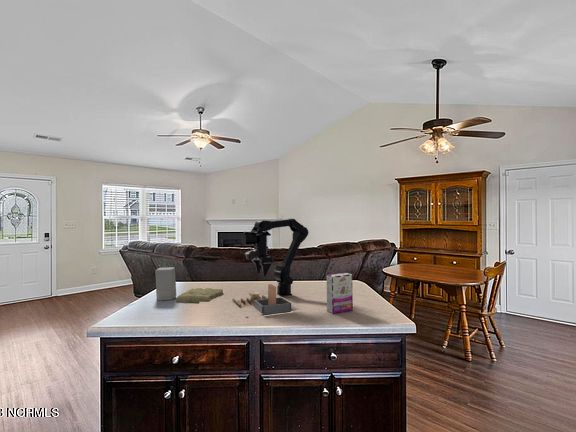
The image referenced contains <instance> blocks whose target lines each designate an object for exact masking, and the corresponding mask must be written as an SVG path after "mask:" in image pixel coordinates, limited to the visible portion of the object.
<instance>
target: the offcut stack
mask: <svg viewBox="0 0 576 432" xmlns="http://www.w3.org/2000/svg"><path fill="white" fill-rule="evenodd" d="M248 296H249V297H250V298H249V299H250V300H251V302H252V303H253V304H254V300H260V299H261V298H262V296H260V293H259V292H257V291H251V292H249V293H248Z"/></svg>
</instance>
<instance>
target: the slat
mask: <svg viewBox="0 0 576 432" xmlns="http://www.w3.org/2000/svg"><path fill="white" fill-rule="evenodd" d="M267 298H268V305H276V298H277V286H276V285H274V284H268V285H267Z"/></svg>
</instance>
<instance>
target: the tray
mask: <svg viewBox="0 0 576 432" xmlns="http://www.w3.org/2000/svg"><path fill="white" fill-rule="evenodd" d="M253 308H254V309H256V310H257V311H258V312H259V313H261V314H260V315H261V316H269V315H278V314H284V313H292V303H291V302H290V301H289V300H286V299H284V298H283V297H282V296H279V297H276V305H268V299H260V300H254V306H253Z"/></svg>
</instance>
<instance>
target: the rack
mask: <svg viewBox="0 0 576 432" xmlns="http://www.w3.org/2000/svg"><path fill="white" fill-rule="evenodd" d="M261 299H268V296H265V295H261ZM232 302H233V303H234V304H235V305H236V306H237V307H238V308H247V307H254V304H253V303H252V302H251V300H250V298H249V297H246V299H244V298H240V299H239V300H237V299H235V298H232Z"/></svg>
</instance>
